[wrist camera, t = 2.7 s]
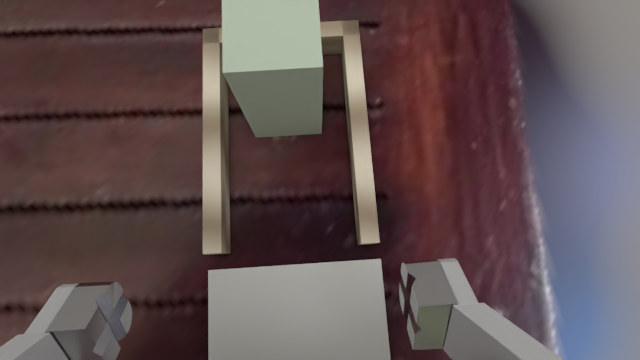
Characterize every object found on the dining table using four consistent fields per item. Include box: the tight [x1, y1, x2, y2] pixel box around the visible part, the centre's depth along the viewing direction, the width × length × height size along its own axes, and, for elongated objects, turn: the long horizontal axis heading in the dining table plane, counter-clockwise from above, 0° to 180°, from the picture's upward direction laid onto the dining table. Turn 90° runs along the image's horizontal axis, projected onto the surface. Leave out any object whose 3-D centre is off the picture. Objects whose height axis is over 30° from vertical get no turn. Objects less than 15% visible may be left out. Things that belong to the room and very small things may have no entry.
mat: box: [208, 259, 391, 360], centre depth 25 cm, size 12×12×1 cm
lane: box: [203, 20, 380, 255], centre depth 27 cm, size 16×11×2 cm
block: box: [222, 0, 323, 138], centre depth 24 cm, size 5×5×10 cm
